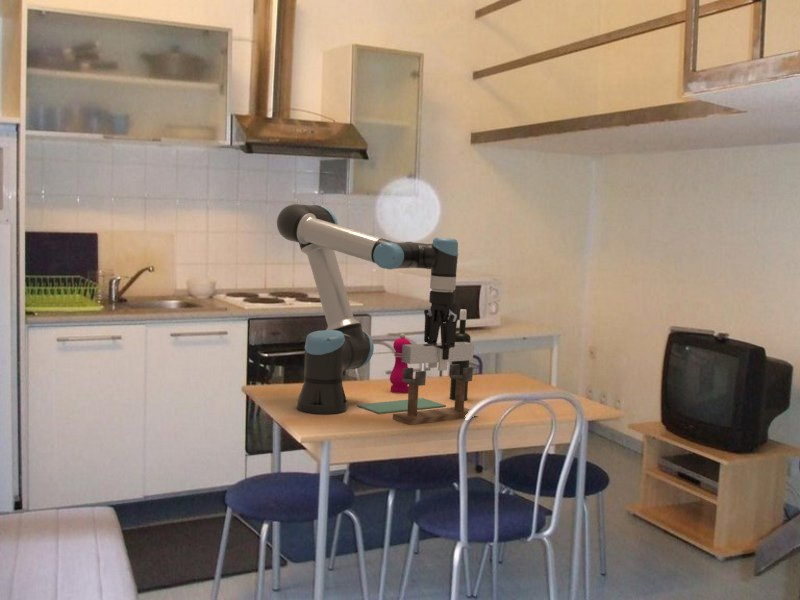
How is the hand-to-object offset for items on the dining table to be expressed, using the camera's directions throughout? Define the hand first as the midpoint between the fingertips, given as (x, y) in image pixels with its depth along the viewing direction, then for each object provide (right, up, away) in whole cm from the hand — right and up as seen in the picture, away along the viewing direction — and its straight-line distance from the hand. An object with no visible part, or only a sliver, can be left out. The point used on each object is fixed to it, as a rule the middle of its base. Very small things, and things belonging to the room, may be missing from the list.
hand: (437, 368), depth 261 cm
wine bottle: (+8, -13, +31) cm, 35 cm away
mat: (-11, -13, +15) cm, 22 cm away
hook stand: (0, -15, +1) cm, 15 cm away
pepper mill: (-11, -11, +39) cm, 42 cm away
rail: (0, +2, 0) cm, 2 cm away
